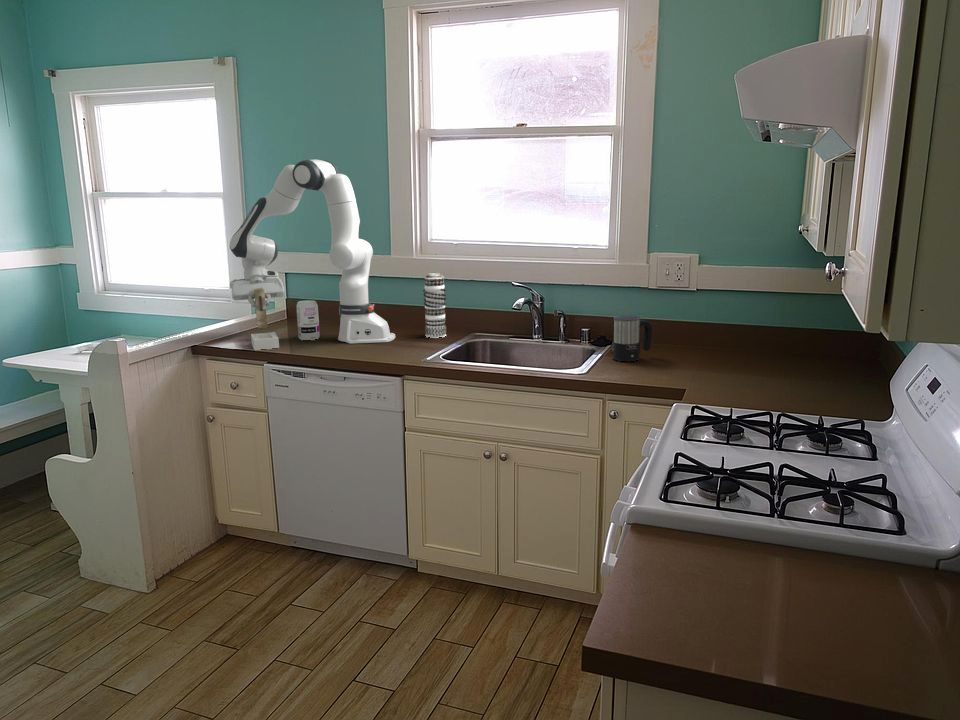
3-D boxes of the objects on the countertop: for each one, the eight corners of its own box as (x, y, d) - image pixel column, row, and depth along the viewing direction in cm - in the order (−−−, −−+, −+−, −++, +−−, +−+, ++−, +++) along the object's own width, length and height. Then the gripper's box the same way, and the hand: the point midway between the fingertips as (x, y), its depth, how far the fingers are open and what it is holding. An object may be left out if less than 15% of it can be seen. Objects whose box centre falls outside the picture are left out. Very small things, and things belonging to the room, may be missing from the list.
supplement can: (308, 336, 306) (306, 299, 302) (324, 338, 301) (321, 300, 298) (294, 339, 299) (291, 302, 295) (309, 341, 295) (307, 303, 291)
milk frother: (625, 364, 252) (627, 320, 249) (593, 355, 265) (594, 314, 262) (655, 358, 260) (656, 315, 257) (622, 350, 273) (623, 309, 270)
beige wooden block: (266, 324, 303) (262, 287, 300) (267, 327, 298) (264, 289, 295) (257, 325, 302) (253, 288, 298) (258, 327, 297) (254, 290, 294)
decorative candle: (440, 332, 309) (438, 271, 303) (451, 336, 301) (450, 273, 295) (420, 335, 304) (418, 273, 298) (431, 339, 296) (429, 275, 291)
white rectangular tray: (251, 344, 291) (250, 334, 290) (275, 342, 294) (274, 332, 294) (254, 350, 280) (253, 340, 280) (279, 348, 284) (278, 337, 283)
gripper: (228, 275, 298) (232, 303, 292) (281, 271, 305) (286, 298, 299) (229, 285, 303) (233, 312, 297) (281, 281, 310) (286, 308, 304)
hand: (260, 305), depth 298 cm, fingers closed on beige wooden block, 3 cm apart
